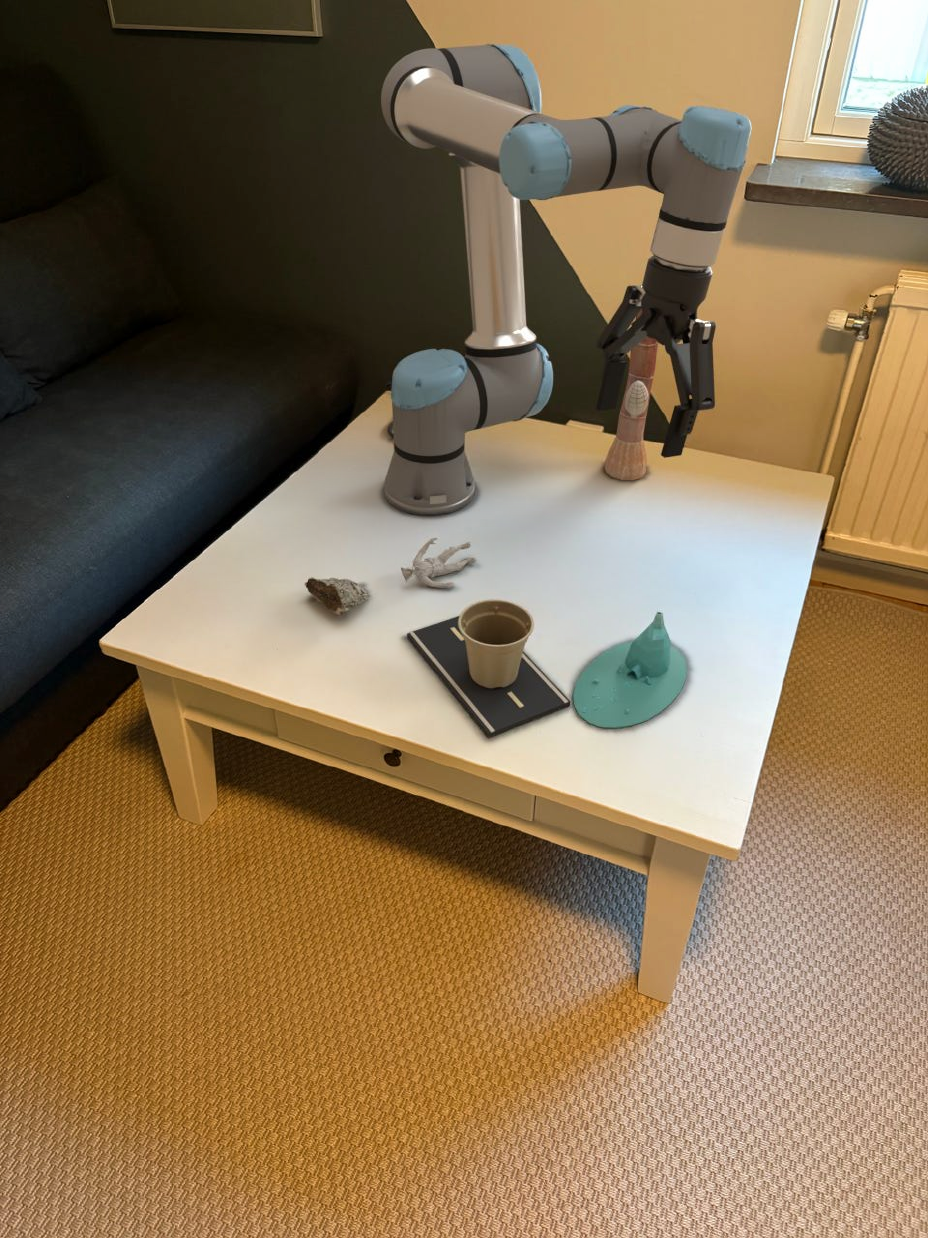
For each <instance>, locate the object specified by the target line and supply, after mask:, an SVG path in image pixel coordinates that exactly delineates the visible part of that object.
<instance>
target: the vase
mask: <svg viewBox="0 0 928 1238" xmlns="http://www.w3.org/2000/svg"><path fill="white" fill-rule="evenodd" d="M641 315H642V308H641V310H640V312H639V313H638V315H637V316H636V317H635V320H636V319H637V318H638V317H639V316H641ZM658 346H659V343H658V342H657V341H656V339H653V338H649V337H648V336H647V337H646V338H645V339H643V340H642V341H641V342H640V343H639V344H638V345H636V346H635V347H634V348H633V349H632V350H631V351H630V352H629V364H628V365H629V367H628V375H627V382H626V386H625V390H624V395H623V398H622V403H621V406H620V411H619V415H618V420H617V421H618V422H617V427H616V428H617V429H616V433H615V434H616V435H615V437H614V439H613V441H612V443H611V445H610V447H609V450H608V451H607V454H606V458H605V461H604V470H605V473H606V474H607V475H608V476H610V477H611V478H614V479H617V480H620V481H635V480H638V479H642V478H643V477H644V475H645V474H646V473H647V461H648V458H647V457H648V456H647V450H646V447H645V442H644V432H645V426H646V419H647V416H648V415H647V414H648V409H649V403H650V398H651V391H652V386H653V381H654V377H655V372H656V368H657V367H656V366H657V356H658Z"/></svg>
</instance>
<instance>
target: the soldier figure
mask: <svg viewBox="0 0 928 1238" xmlns="http://www.w3.org/2000/svg"><path fill="white" fill-rule="evenodd" d="M435 541H438V537H432V538H430V539H429V540H428V541H427V542H425V543H424V544H423V546H422V547H421V548H420V549H419V550H418V552H417V554H416V555H415V557H414V559H413V561H412V567H402V566H401V567H400V570H401V573H402V577H403V578H404V581H405V582H406V583H408V581H409V580H410V579H411V578H412V577H413V575H414V576H415V578H417V579H418V581H419V582H421V583H423V584H425V585H426V586H429V587H431V588H437V589H441V588H453V587H455V583H454V581H449V582H440V581H434V580H432V579H431V578H435V577H439V576H441V575H447V574H450V573H453V572H455V571H459V570H460V571H461V570H462V569H463V568H464V566H466V565H467V564H475V563H476V562H477V558H476V557H474V556H473V557H471V558H465V559H463V561H456V562H452V563H448V564H445V563H446V562H447V561H448V560H449V559H450V558H451V557H452V556H454V555H455V554H456V553H457V552H458V551H460V550H466V549H469V548H471V542H470V541H467V542H465V543H462V544H460V545H456V546H450V547H449V548H448V549H445V550H443V551H442V552H441V553H440V554H439V555H437V557H433V558H432V557H426V558H424V560H423V557H424V555H426V553H427V551H428V550H429V548H430V545H436V544H437V543H436V542H435Z"/></svg>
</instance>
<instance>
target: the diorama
mask: <svg viewBox="0 0 928 1238" xmlns="http://www.w3.org/2000/svg"><path fill="white" fill-rule="evenodd" d="M669 635H670V634H669V632H668V630H667V628H666V626H665V619H664V613H663V612H662V611H656V613H655V616H654V617H653V620H652V622H650V624H648V626H646V628H645V629H644V630H643V631H642V632H641V633H640V634H639V635H638V636H637V637H636V638H635V639H634V640H630V641H627V642H624V643H620V644H617V645H615V646H613V647H611V648H609V649H607V650H605V651H604V652H602V653H601V654H599V656H597V657H595V658H594V659H593V660H592V661H590V663H589V664H588V665H587V666H586V667H585V669H584V670H583V671H581V673H580V676H579V678H578V679H577V681H576V682H575V686H574V690H573V694H572V697H573V704H574V705H573V706H574V708H575V710H576V712H577V713H578V715H579V717H580V718H581V719H582V720H584V721H585V722H586V723H588V724H590V725H591V726H592V725H593V726H596V727H598V728H602V729H613V730H616V729H621V728H628V727H632V726H633V727H634V726H636V725H639V724H641V723H645V722H646V721H648V720H650V719H652V718H654V717H655V716H657V715H659V714H660V713H662V712H663V711H664V710H665V709H666V708H668V706H670V705H671V704H672V703H673V702H674V701H675V699H676V698H677V697H678V695H679V694H680V692H681V691H682V688H683V686H684V683H685V681H686V678H687V669H688V666H687V662H686V659H685V657H684V655H683V654H682V652H680V651H679V649H677V648H676V647H674V646H673V645H672V640H671V638H670V636H669Z"/></svg>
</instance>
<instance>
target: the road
mask: <svg viewBox="0 0 928 1238" xmlns="http://www.w3.org/2000/svg"><path fill="white" fill-rule="evenodd" d="M459 616H460V615H458V616H457V615H456V616H454V617H451V618H449V619H445V620H442V621H439V622H436V623H434V624H431V625H427V626H424V627H422V628H418V629H416V630H410V631H409V632H407V633H406V638H407V640H408V641H409V642H410V643H411V645H412V646H413V647H414V649H416V650H417V652H418V653H419V655H420V656H421V657H422V658H423V660H425V662H426V663H427V664H428V666H429V667H430V668H431V669H432V671H434V673H435V674H436V675H437V676H438V678H440V680H441V681H442V683H443V684H444V685H445V687H447V689H448V690H449V691H450V693H452V695H453V696H454V698H455V699H456V700H457V701H458V703H460V705H461V706H462V707H463V708H464V710H465V711H466V712H467V714H468V715H469V716H470V717H471V719H472V720H473V721H474V722H475V723H476V724H477V726H478V727H479V728H480V729H481V731H482V732H483V733H484V734H485V736H486V737H487V738H488V739H490V738H492V737H495V736H497V735H500V734H502V733H503V734H504V733H505V732H507V731H510V730H512V729H515V728H518V727H520V726H522V725H525V724H528V723H530V722H532V721H535V720H538V719H540V718H543V717H544V716H548V715H551V714H552V713H555V712H557V711H560V710H563V709H565V708H567V707H570V706H571V700H570V699H569V698H568V697H567V696H566V695H565V693H564V692H562V691H561V689H560V688H559V687H558V686H557V685H556V684H555V683H554V682H553V681H552V680H551V679H550V678H549V677H548V676H547V674H546V673H544V672H543V670H541V668H540V667H539V666H538V665H537V664H536V663H535V662H534V661H533V660H532V659H531V657H529V656H528V654H527V653H526V652H525V651H523V654H522V658H521V661H520V665H519V670H518V675H517V677H516V679H515V681H514V682H513V683H511V684H510V685H508V686H506V687H495V688H487V687H483V686H481V685H479V684H477V683H476V682H475V681H474V680H473V679H472V677H471V675H470V671H469V662H468V656H467V649H466V643H465V640H464V638H463V635H462V633H461V632H460V630H459V627H458V619H459Z"/></svg>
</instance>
